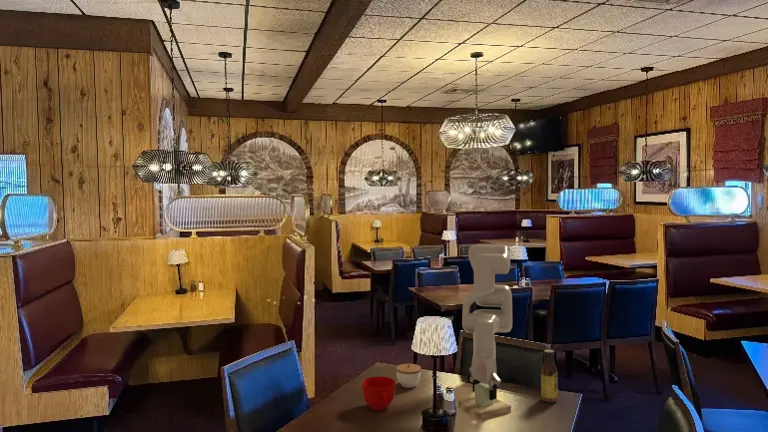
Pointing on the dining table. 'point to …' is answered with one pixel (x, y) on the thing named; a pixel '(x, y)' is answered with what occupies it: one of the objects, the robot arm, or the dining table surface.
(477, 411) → the riser block
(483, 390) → the green block
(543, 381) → the sauce bottle
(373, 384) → the ceramic cup
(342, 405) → the dining table surface
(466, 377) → the dining table surface
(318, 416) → the dining table surface
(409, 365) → the lidded jar
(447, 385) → the dining table surface
